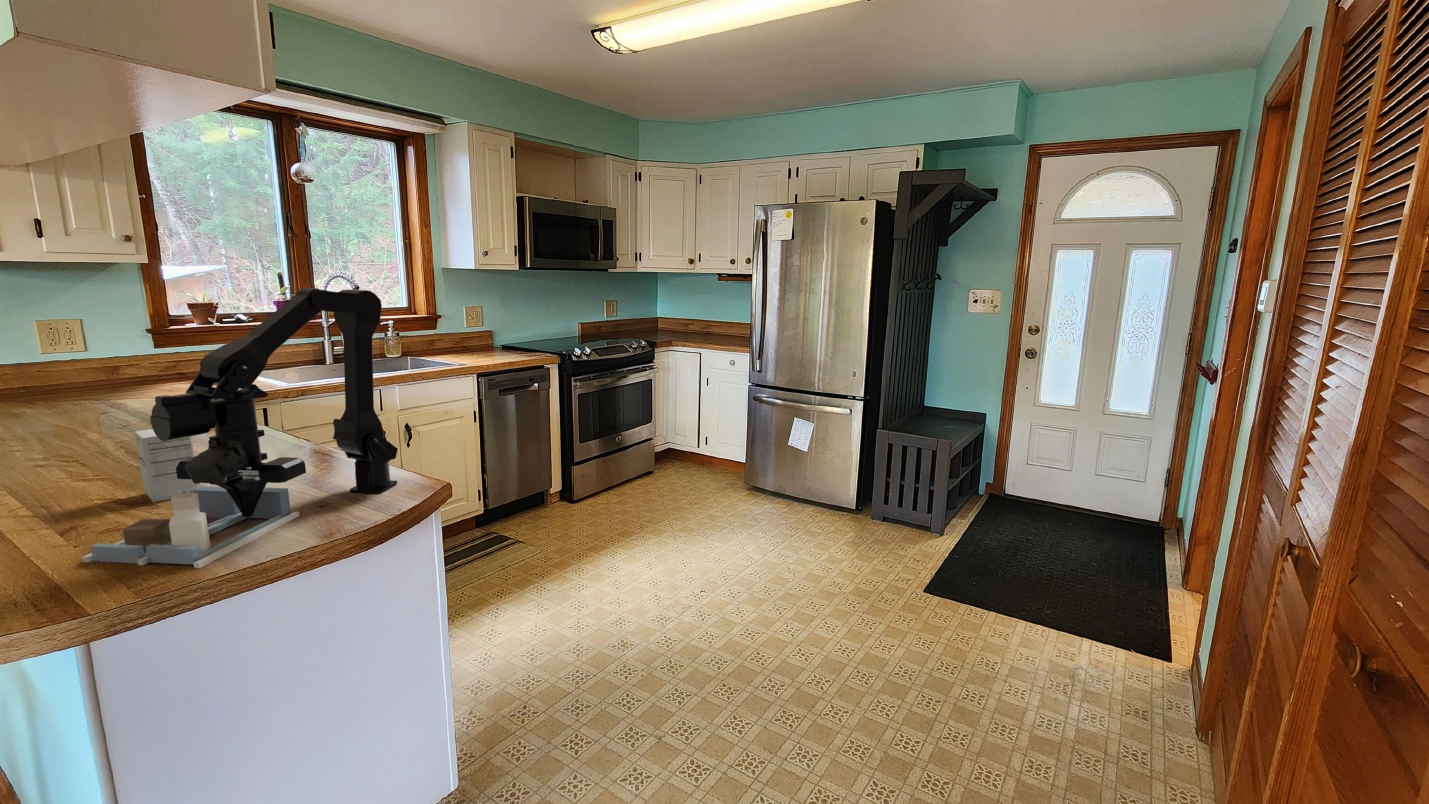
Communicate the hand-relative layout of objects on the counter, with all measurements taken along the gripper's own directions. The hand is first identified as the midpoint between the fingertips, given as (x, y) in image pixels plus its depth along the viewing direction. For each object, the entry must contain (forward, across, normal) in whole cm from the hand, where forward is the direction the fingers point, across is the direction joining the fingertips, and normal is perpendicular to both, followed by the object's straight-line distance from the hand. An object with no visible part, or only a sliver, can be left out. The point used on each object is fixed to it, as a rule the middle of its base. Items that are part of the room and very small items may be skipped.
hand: (248, 516), depth 110 cm
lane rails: (+2, -4, -5) cm, 7 cm away
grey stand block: (+2, 0, -5) cm, 5 cm away
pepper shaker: (+2, 0, -11) cm, 11 cm away
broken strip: (+2, -9, -5) cm, 10 cm away
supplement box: (+2, -27, +14) cm, 30 cm away
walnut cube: (+2, -9, -9) cm, 13 cm away
